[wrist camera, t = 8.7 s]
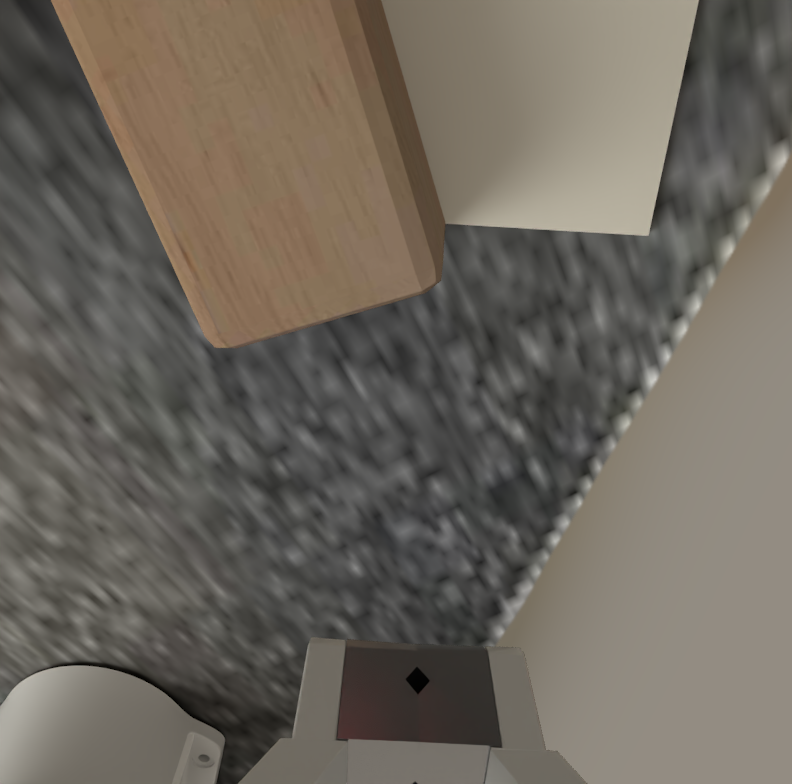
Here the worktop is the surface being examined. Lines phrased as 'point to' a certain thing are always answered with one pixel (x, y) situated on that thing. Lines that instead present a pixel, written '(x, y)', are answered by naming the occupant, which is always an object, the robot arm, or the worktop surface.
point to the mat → (544, 106)
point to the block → (267, 154)
